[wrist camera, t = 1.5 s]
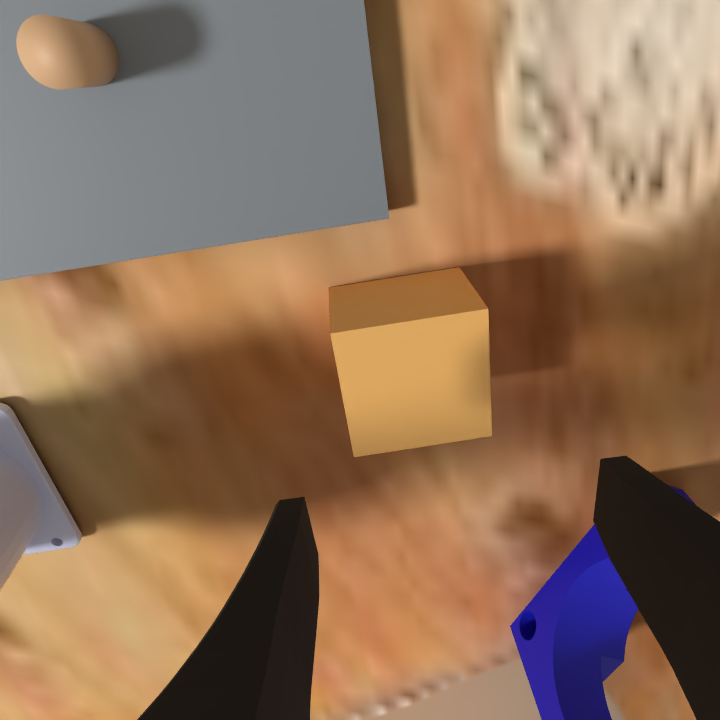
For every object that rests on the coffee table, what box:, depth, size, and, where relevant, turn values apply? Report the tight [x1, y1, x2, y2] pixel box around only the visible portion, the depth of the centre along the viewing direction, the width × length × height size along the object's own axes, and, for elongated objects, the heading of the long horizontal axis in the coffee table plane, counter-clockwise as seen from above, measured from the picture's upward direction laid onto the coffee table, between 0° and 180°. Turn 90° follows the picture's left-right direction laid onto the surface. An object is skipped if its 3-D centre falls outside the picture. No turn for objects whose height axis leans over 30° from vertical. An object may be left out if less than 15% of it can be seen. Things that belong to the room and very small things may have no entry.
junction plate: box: [0, 0, 389, 281], centre depth 15 cm, size 16×12×4 cm
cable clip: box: [510, 486, 695, 720], centre depth 26 cm, size 12×4×6 cm, turn 157°
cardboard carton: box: [329, 267, 492, 457], centre depth 20 cm, size 5×5×4 cm
